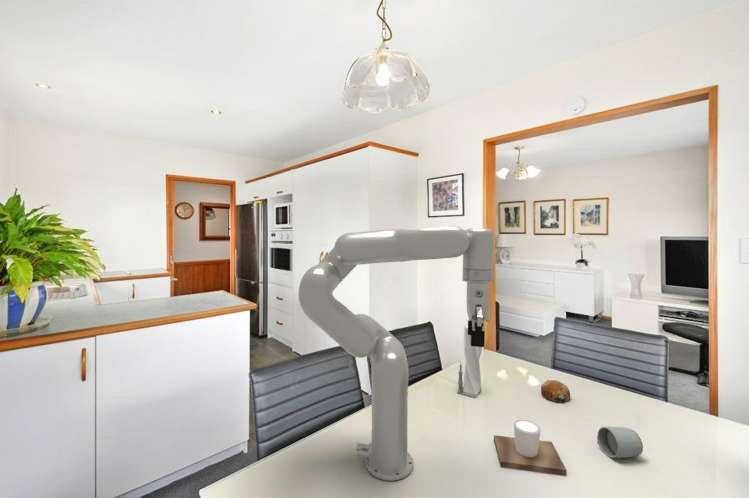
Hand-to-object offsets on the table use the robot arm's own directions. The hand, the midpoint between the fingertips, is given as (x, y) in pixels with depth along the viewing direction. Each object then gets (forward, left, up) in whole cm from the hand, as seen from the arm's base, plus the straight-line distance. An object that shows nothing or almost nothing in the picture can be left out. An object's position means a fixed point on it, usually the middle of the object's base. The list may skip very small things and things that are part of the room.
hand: (475, 340), depth 88 cm
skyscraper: (+3, +44, -34) cm, 56 cm away
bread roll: (+34, +46, -34) cm, 67 cm away
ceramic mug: (+40, +14, -34) cm, 54 cm away
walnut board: (+15, +7, -34) cm, 38 cm away
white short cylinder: (+15, +7, -33) cm, 36 cm away
